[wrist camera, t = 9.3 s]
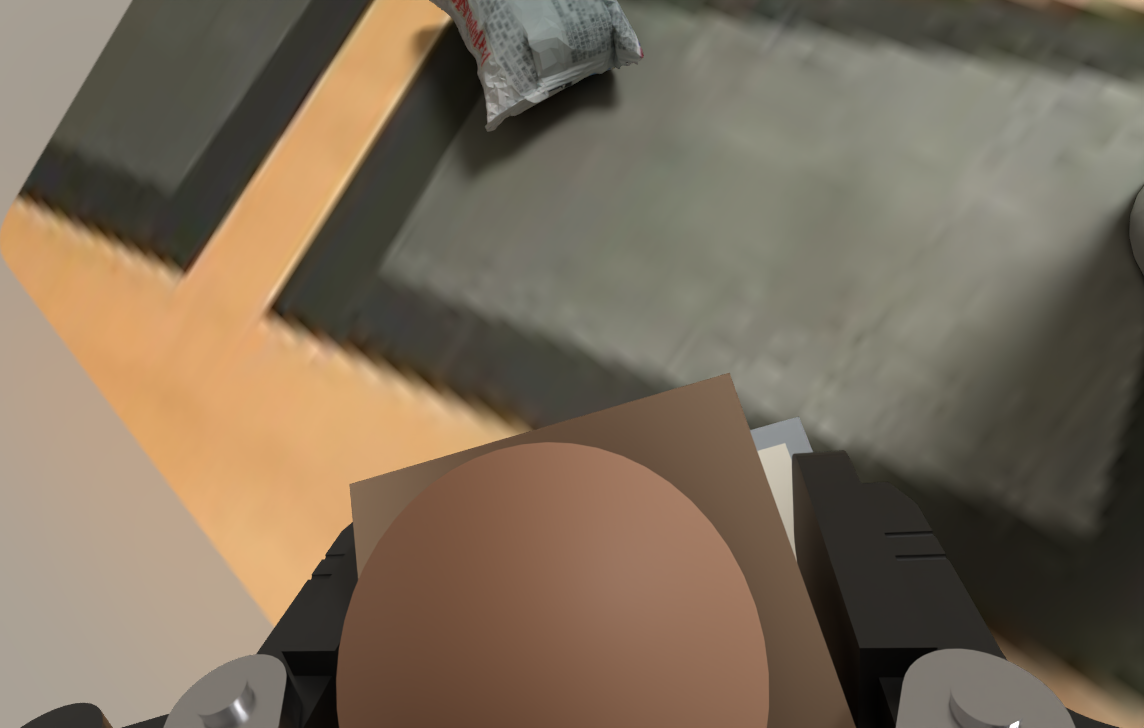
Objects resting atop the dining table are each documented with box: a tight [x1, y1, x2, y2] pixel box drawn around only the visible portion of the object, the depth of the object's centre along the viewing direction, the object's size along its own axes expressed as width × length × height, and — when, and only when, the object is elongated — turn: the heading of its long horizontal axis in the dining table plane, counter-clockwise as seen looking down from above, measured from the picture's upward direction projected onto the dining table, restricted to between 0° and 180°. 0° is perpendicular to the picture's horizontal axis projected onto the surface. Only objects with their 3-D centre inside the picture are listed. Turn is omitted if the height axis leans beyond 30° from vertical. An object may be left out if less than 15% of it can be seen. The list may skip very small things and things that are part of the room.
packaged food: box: [429, 0, 644, 132], centre depth 33 cm, size 9×12×5 cm
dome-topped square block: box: [336, 373, 856, 728], centre depth 9 cm, size 5×5×9 cm
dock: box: [750, 417, 813, 561], centre depth 22 cm, size 12×10×3 cm
